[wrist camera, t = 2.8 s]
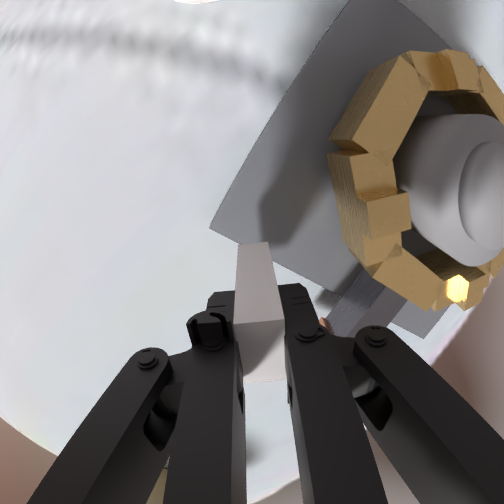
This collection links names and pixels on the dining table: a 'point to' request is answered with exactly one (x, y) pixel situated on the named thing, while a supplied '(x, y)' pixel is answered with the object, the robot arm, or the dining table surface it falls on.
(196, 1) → the can
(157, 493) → the plant pot
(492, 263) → the ring nut
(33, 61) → the dining table surface
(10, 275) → the dining table surface
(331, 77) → the base
